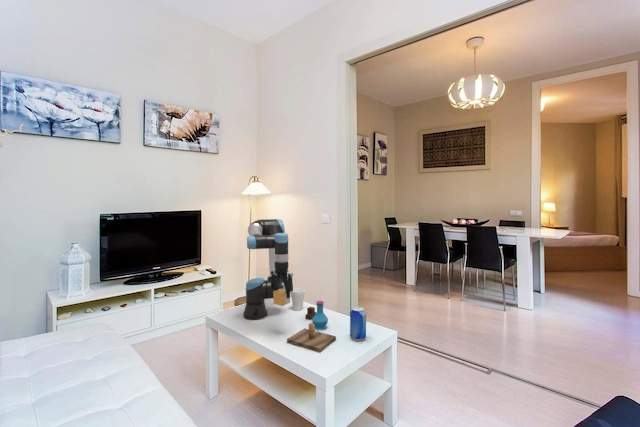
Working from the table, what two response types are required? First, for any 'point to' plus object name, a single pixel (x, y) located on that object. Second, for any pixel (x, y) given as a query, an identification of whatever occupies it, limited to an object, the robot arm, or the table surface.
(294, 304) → the foam cup
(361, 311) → the beer can
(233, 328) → the table surface
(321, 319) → the perfume bottle
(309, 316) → the stack of crates
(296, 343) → the post board
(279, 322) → the table surface
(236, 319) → the table surface
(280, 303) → the wooden toy cube
